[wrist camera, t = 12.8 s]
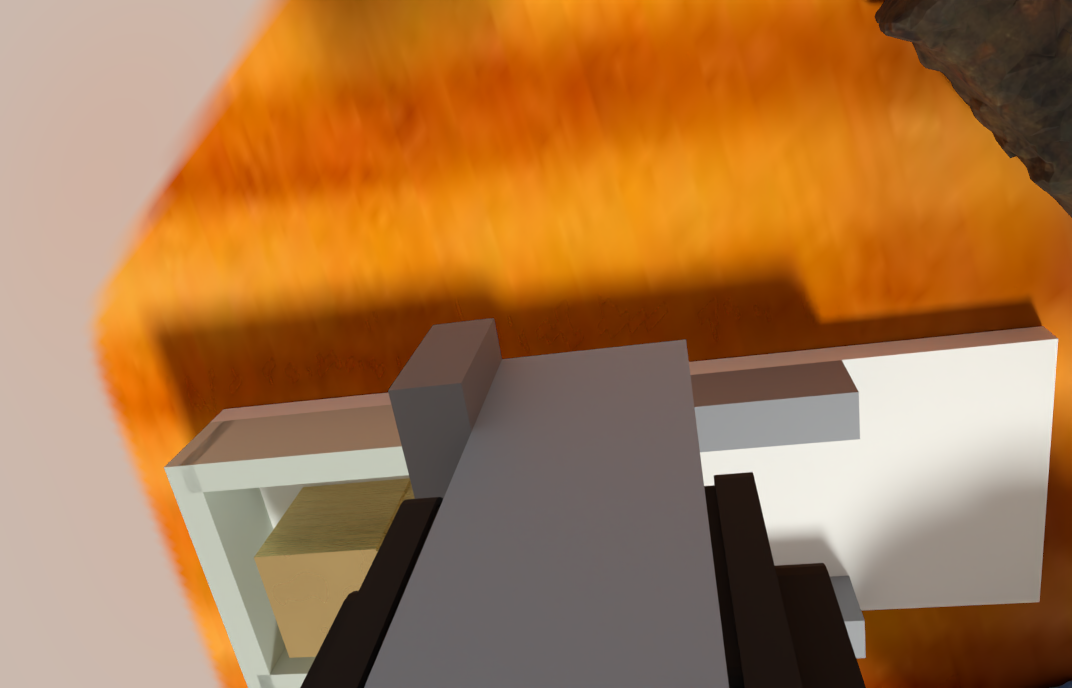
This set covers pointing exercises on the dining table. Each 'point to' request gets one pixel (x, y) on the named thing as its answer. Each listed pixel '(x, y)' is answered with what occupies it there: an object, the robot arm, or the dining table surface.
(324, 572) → the block
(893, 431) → the slot board
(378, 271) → the dining table surface
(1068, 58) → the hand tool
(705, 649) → the block with small nub
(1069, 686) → the snack cup
